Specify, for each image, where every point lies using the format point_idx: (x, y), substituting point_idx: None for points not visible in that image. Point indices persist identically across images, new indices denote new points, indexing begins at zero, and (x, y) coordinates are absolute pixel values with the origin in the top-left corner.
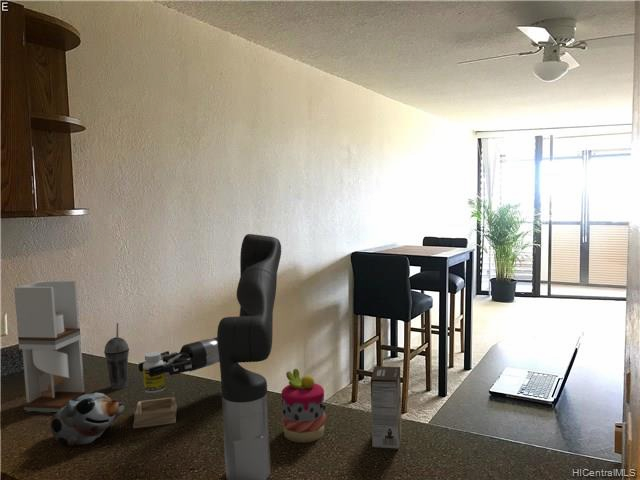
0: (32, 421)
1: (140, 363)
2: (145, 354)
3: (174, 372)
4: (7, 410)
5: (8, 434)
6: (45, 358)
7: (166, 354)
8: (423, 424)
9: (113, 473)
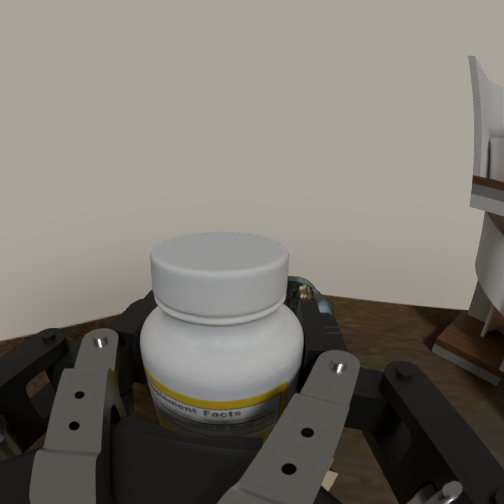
0: (410, 323)
1: (305, 301)
2: (262, 237)
3: (48, 387)
4: (467, 311)
5: (373, 302)
6: (482, 233)
7: (438, 499)
8: None
9: (99, 320)
